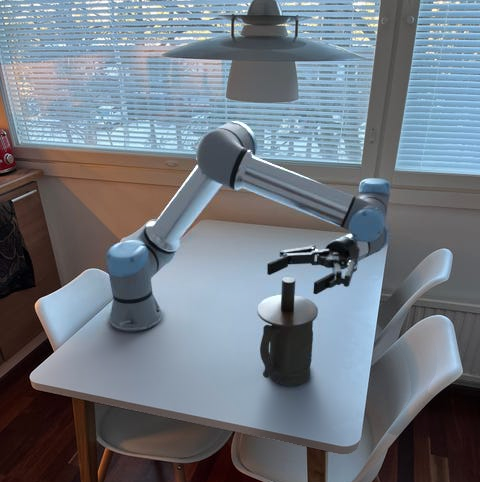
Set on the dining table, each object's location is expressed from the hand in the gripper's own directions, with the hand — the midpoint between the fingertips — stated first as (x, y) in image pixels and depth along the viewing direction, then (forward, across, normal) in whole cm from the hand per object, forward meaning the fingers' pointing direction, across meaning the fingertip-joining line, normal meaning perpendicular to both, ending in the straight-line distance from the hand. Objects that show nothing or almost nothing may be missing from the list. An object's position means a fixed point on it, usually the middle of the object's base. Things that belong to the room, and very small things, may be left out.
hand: (290, 278), depth 106 cm
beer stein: (+1, 0, +28) cm, 28 cm away
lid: (+1, 0, +8) cm, 8 cm away
